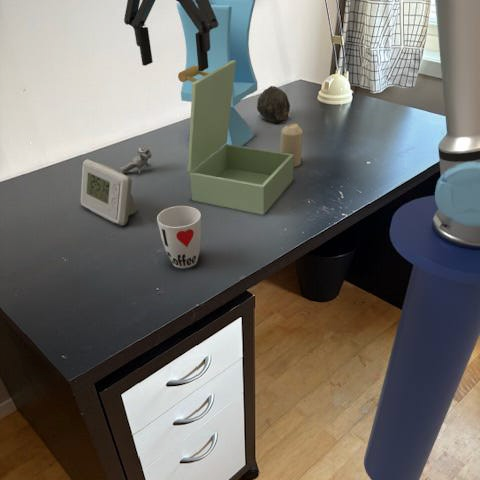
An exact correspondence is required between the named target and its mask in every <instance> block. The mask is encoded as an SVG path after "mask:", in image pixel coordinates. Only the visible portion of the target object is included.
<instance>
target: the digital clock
mask: <svg viewBox="0 0 480 480" xmlns="http://www.w3.org/2000/svg"><path fill="white" fill-rule="evenodd" d="M81 169H82V171H81V186H80V187H81V188H80V204H81V206H83V207H84V208H86V209H88V210H90V212H92V213H94V214H96V215H97V216H100V217H101V218H104V219H106V220H108V221H109V222H111V223H113V224H117V225H119V226H121V227H124V226H125V225H127V223H128V220H129V216H131V215H134V214H135V213H136V206H135V200H134V196H133V194H132V178H131V177H130V176H128V175H126V174H124V173H123V172H121V171H119V170H117V169H115V168H112V167H111V166H107V165H105V164H103V163H102V162H101V163H100V162H99V161H94V160H91V159H89V158H88V159H85V160H84V161H83V163H82V168H81Z"/></svg>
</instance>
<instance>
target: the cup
mask: <svg viewBox="0 0 480 480" xmlns="http://www.w3.org/2000/svg"><path fill="white" fill-rule="evenodd" d="M156 221H157V225H158V229H159V234H160V238H161V241H162V243H163V246H164V250H165V252H166V254H167V257H168V259H169V260H170V262H171V264H172V265H173V266H174V267H175V268H178V269H190V268H192V267H194V266H196V265H197V263H198V260H199V256H200V252H201V243H202V215H201V211H200V210H199V209H197V208H195V207H193V206H189V205H188V206H187V205H176V206H171V207H168V208H165V209H163V210H161V211H160V212H159V213H158V214H157V217H156Z"/></svg>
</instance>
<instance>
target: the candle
mask: <svg viewBox="0 0 480 480" xmlns="http://www.w3.org/2000/svg"><path fill="white" fill-rule="evenodd" d="M303 134H304V133H303V129H302V128H301V127H300V126H299V124H297V123H292V124H288V125H285V126H284V127H282V129H281V130H280V152H281V153H287V154H294V163H293V168H295V167H298V166H300V165H301V163H302V149H303Z"/></svg>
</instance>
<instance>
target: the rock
mask: <svg viewBox="0 0 480 480" xmlns="http://www.w3.org/2000/svg"><path fill="white" fill-rule="evenodd" d="M290 108H291V104H290V101H289V98H288V95H287V94H286V92H285V91H284V90H283V89H281V88H279V87H277V86H274V85H270V86H269V87H268V88H266V89H264V90H263V91H262V93H260V95H259V97H258V98H257V104H256V110H257V112H259V115H260V116H262V117H263V118H264V119H265V120H267V121H269V122H272V123H280V122H284V121H286V120H287V119H288V118H289V113H290V110H291V109H290Z"/></svg>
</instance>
